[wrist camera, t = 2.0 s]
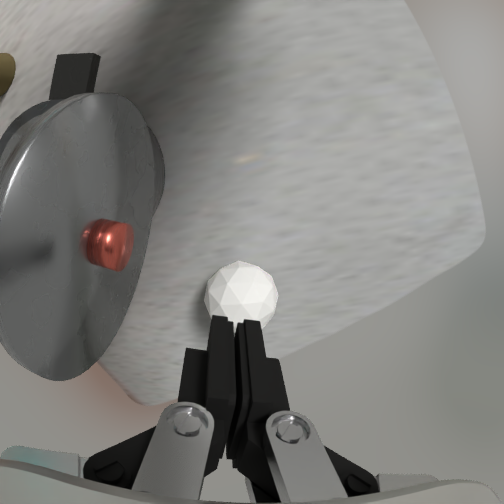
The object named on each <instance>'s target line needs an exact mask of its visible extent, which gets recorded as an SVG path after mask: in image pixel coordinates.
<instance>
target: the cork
mask: <svg viewBox="0 0 504 504" xmlns="http://www.w3.org/2000/svg"><path fill="white" fill-rule="evenodd" d="M15 70H16V68H15V61H14V58H13V57H12V56H11V55H10V54H7V53H0V96H2V95H3V94H4V93H5V92H6V91H7V90H8V88H9V87H10V85H11V84H12V81H13V79H14V75H15Z"/></svg>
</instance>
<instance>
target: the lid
mask: <svg viewBox="0 0 504 504" xmlns="http://www.w3.org/2000/svg"><path fill="white" fill-rule="evenodd" d="M153 201H154V158H153V150H152V144H151V139H150V135H149V132H148V128H147V125H146V123H145V121H144V119H143V116H142V115H141V113H140V112H139V110H138V109H137V108H136V106H135V105H134V104H133V103H132V102H131V101H129V100H128V99H126V98H125V97H123V96H120V95H117V94H114V93H83V94H78V95H74V96H71V97H69V98H67V99H65V100H62V101H60V102H59V103H57V104H56V105H54V106H53V107H51V108H50V109H48V110H47V111H46V112H44V113H43V114H42V115H41V116H40V117H39V118H38V119H37V120H36V121H35V122H34V123H33V124H32V125H31V126H30V127H29V128H28V130H27V131H26V132H25V133H24V135H23V136H22V137H21V139H20V140H19V141H18V142H17V144H16V145H15V147H14V149H13V150H12V152H11V154H10V155H9V157H8V159H7V161H6V162H5V164H4V166H3V168H2V170H1V173H0V342H1V344H2V345H3V347H4V348H5V350H6V351H7V352H8V354H9V355H10V356H11V357H12V358H13V359H14V360H15V361H16V362H17V363H18V364H20V365H21V366H23V367H24V368H26V369H28V370H29V371H31V372H33V373H35V374H37V375H39V376H41V377H43V378H46V379H49V380H53V381H64V380H68V379H72V378H75V377H77V376H79V375H81V374H82V373H84V372H85V371H86V370H88V369H89V368H90V367H91V366H92V365H93V364H94V363H95V362H96V361H97V360H98V359H99V358H100V357H101V356H102V354H103V353H104V352H105V350H106V349H107V348H108V346H109V345H110V343H111V341H112V340H113V338H114V336H115V335H116V333H117V331H118V329H119V327H120V325H121V323H122V321H123V319H124V317H125V315H126V312H127V310H128V307H129V305H130V302H131V300H132V297H133V294H134V291H135V289H136V285H137V282H138V279H139V276H140V272H141V269H142V265H143V261H144V257H145V253H146V248H147V243H148V238H149V232H150V226H151V219H152V212H153Z"/></svg>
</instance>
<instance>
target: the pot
mask: <svg viewBox="0 0 504 504" xmlns="http://www.w3.org/2000/svg"><path fill="white" fill-rule="evenodd" d="M100 58H101V56H99V55H97V54H95V53H80V54H61V55H57V59H56V64H55V69H54V73H53V79H52V84H51V90H50V96H49V100H50V101H46V102H42V103H40V104H38V105H35V106H33V107H31V108H30V109H28V110H26V111H25V112H23V113H22V114H21V115H20V116H19V117H17V118H16V119H15V120H14V121H13V122H12V124H11V125H10V126H9V127H8V128H7V130H6V131H5V133H4V134H3V136H2V138H1V139H0V173H1V170H2V168H3V166H4V164H5V162H6V161H7V159H8V157H9V155H10V154H11V152H12V150H13V149H14V147H15V145H16V144H17V142H18V141H19V140H20V139H21V137H22V136H23V135H24V133H25V132H26V131H27V130H28V128H29V127H30V126H31V125H32V124H33V123H34V122H35V121H36V120H37V119H38V118H39V117H40V116H41V115H42V114H43V113H44V112H46V111H47V110H48V109H50V108H51V107H53V106H54V105H56V104H57V103H59V102H60V101H62V100H65V99H67V98H69V97H71V96H74V95H78V94H83V93H94V87H95V82H96V77H97V72H98V67H99V62H100ZM147 128H148V132H149V135H150V139H151V144H152V150H153V158H154V201H153V212H152V216H153V214H154V213H155V211H156V209H157V207H158V205H159V203H160V200H161V197H162V194H163V188H164V181H165V167H164V160H163V155H162V152H161V149H160V146H159V144H158V141H157V139H156V137H155V136H154V134H153V133H152V131H151V129H150V128H149V127H148V126H147Z"/></svg>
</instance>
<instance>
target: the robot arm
mask: <svg viewBox="0 0 504 504" xmlns="http://www.w3.org/2000/svg"><path fill="white" fill-rule="evenodd" d="M225 445H226V456H227V459H232V463H233V468H237V469H238V471H239V472H240V473H242V474H243V475H244V476H246V477H245V483H246V487H247V491H248V494H249V498H250V502H251V503H231V502H215V501H202V500H199V499H200V495H201V490H202V486H203V481H204V477H205V476H207V475H208V474H210V473H211V472H213V471H214V470H216V469H217V466H218V462H219V459H222V456H223V453H224V448H225ZM0 504H503V503H502V501H501V500H500V498H499V497H498V495H497V494H496V493H495V492H494V491H493V490H492V489H491V488H490V487H489V486H488V485H486V484H484V483H481V482H478V481H472V480H461V479H456V480H454V479H453V480H441V481H439V480H438V479H437V478H435V477H434V476H432V475H426V474H380V473H379V474H378V475H377V476H373V475H372V474H371V473H369V472H368V471H366V470H365V469H363V468H361V467H359V466H358V465H356V464H354V463H352V462H351V461H349V460H347V459H345V458H344V457H342V456H340V455H338V454H337V453H335V452H334V451H332V450H330V449H329V448H327V447H325V446H324V445H323V443H322V441H321V439H320V437H319V435H318V433H317V431H316V429H315V427H314V425H313V423H312V422H311V421H310V420H309V419H308V418H307V417H306V416H304V415H302V414H300V413H297V412H293V411H290V408H289V403H288V398H287V394H286V389H285V385H284V381H283V375H282V371H281V366H280V362H279V360H278V359H276V358H266V353H265V347H264V341H263V335H262V329H261V323H260V321H256V320H248V319H244V321H243V323H240V322H238V323H237V327H236V332H235V337H234V323H233V322H232V321H228V317H225V316H218V315H212V319H211V326H210V332H209V339H208V345H207V351H205V350H198V349H191V348H186V351H185V357H184V364H183V370H182V376H181V383H180V389H179V396H178V402H177V403H174V404H171V405H169V406H168V407H167V408H165V409H164V411H163V412H162V414H161V416H160V419H159V421H158V424H157V426H155V427H153V428H151V429H149V430H147V431H145V432H142V433H140V434H138V435H136V436H134V437H132V438H130V439H128V440H125V441H123V442H121V443H119V444H117V445H115V446H112V447H110V448H108V449H105V450H103V451H101V452H98V453H96V454H94V455H93V456H91V457H89V458H85V457H84V458H83V457H79V454H74V453H65V452H56V451H49V450H42V449H35V448H29V447H24V446H12V447H9V448H7V449H6V450H5V451H4V452H3V453H2V454H1V457H0Z"/></svg>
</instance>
